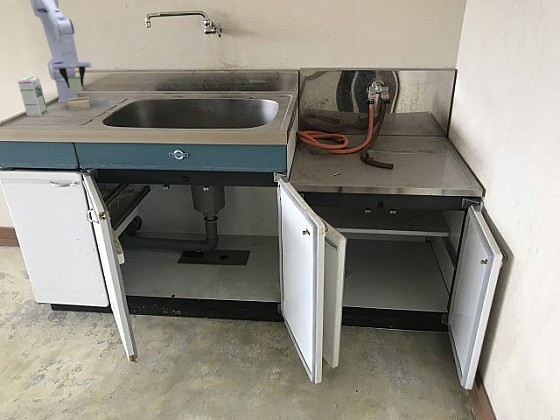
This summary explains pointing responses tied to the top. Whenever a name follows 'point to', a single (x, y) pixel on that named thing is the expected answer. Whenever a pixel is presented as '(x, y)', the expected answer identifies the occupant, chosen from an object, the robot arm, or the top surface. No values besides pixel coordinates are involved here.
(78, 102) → the oak base
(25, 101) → the syrup box
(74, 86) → the sage block
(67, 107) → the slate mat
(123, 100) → the top surface
